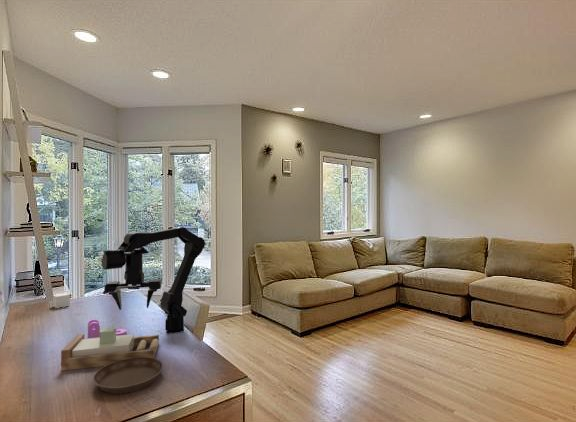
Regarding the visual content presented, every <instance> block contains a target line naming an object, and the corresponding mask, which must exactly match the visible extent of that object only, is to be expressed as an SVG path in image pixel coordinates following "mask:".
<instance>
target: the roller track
mask: <svg viewBox="0 0 576 422" xmlns="http://www.w3.org/2000/svg"><path fill="white" fill-rule="evenodd" d="M82 339H85V333H78V334H76V336H74V337H73V338H72V339H71V340H70V342H68V343H67V344H66V345H65V346H64V347H63V348H62V349H61V350H60V351H61V352H60V353H61V354H60V367H61V368H60V370H61V371H70V370H79V369H87V368H98V367H105V366H107V365H109V364H111V363H113V362H116V361H120V360H124V359H129V358H136V357H148V358H154V359H155V356H156V353H157V350H158V346H159V343H160V341H159V340H160V336H159V334H153V335H152V334H151V335H141V336H134V342H133V344H132V346H131V349H130V351H129V352H121V353H112V354H102V355H92V356H83V357H73V358H72V350H73V349H74V348H75V347H76V346H77V345H78V343H79V342H80V341H81V340H82ZM146 347H149V349H146ZM134 348H136V350H134V351H133V349H134Z"/></svg>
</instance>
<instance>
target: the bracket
mask: <svg viewBox="0 0 576 422" xmlns="http://www.w3.org/2000/svg"><path fill="white" fill-rule="evenodd" d="M100 331H101V325H100V321H99V320H98V319H96V318H93V319H90V320H89V321H88V323H87V339H89V338H100ZM120 335H127V329H125V328H119V329H117V328H116V336H120Z"/></svg>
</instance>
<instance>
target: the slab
mask: <svg viewBox="0 0 576 422" xmlns="http://www.w3.org/2000/svg"><path fill="white" fill-rule="evenodd" d="M134 337H135V334H134V333H132V334H126V335H120V336H116V340H115V341H114V343H111V344H100V338H89V339H88V338H84V339H82V340H81V341H80V342H79V343H78V345H77V346H76V347H75V348H74V349H73V350H72V358H73V357H83V356H92V355H102V354H112V353H121V352H129V351H130V349H131V346H132V344H133V342H134Z"/></svg>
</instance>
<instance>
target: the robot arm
mask: <svg viewBox="0 0 576 422" xmlns="http://www.w3.org/2000/svg"><path fill="white" fill-rule="evenodd" d="M177 238H178V239H179V240H180V241H181V242H182V243H183V244H184V246H183V258H182V261H181V263H180V265H179V268H178V270H177V273H176V274H175V277H174V280H173V283H172V284H171V288H169V290H168V291H163V293H162V297H161V298H160V300H159V302H160V303H159V304H160V305H159V306H160V308H161V310H162V311H163V312H164V314H165V315H166V318H165V324H164V326H165V331H166V332H165V333H166V334H175V333H184V332H185V331H184V330H185V325H184V324H185V320H184V319H185V317H186V315H187V313H188V310H187V309H186V308H185V307H183V305H182V304H183V300H184V298H183V292H184V289H185V287H186V283H187V281H188V279H189V276H190V273H191V271H192V269H193V267H194V264H195V261H196V259H197V258H198V257H199V256H200V255H201V253H202V251H203V250H205V249H204V248H205V247H206V241H205V239H204V238H203V237H202V236H198V235H197V234H194V232H191V231H190V230H188V229H187V228H186V227H184V226H177V227H173V228H166V229H163V230H155V231H150V232H129V233H126V234H125V236H124V237H123V241H122V243H121V244H120V245H119V247H118V248H117V249H110V250H109V249H105V250H103V254H102V258H101V266H102V269H103V271H104V270H105V271H106V270H114V269H122V268H123V267H124V266H125V271H124V274H123V275H124V276H123V279H124V280H125V283H121V282H120V281H117V280H116V281H108V282H107V283H106V284H104V291H103V292H104V293H108V295H111V297H112V298H113V299H114V302H115V303H116V305H117V307H118V310H119V311H121V310H122V296H121V293H122V292H121V291H122V290H123V289H138V288H148V291H147V296H146V308H147V309H148V308H149V306H150V303H151V300H152V297H153V295H154V293H155V292H157V291H158V290H161V288H162V285H163V283H162V280H161V278H159V279H158V278H157V279H156V278H154V279H153V278H152V279H150V280H149V281H145V273H144V272H143V269H144V268H143V263H144V262H143V259H144V257H143V256H144V255H147V254H149V251H148V250H147V249H146V248H145V246H148V245H150V244H153V243H156V242H161V241H166V240H167V241H168V240H171V239H177Z"/></svg>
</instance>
